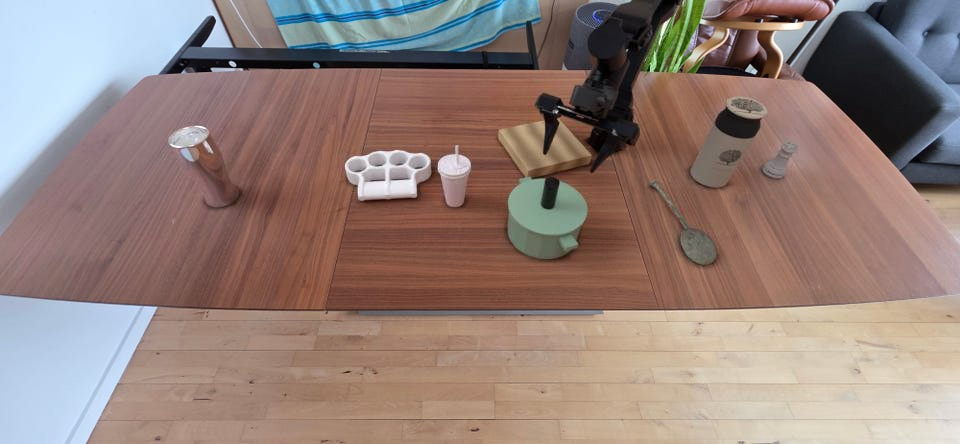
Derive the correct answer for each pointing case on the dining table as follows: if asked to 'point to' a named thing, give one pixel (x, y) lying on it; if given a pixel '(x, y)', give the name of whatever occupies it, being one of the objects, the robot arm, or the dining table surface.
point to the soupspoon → (692, 237)
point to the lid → (547, 207)
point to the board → (529, 144)
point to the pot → (540, 240)
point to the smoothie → (454, 177)
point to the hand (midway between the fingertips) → (567, 163)
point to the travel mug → (728, 141)
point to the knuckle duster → (388, 174)
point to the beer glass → (204, 164)
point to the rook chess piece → (780, 161)
